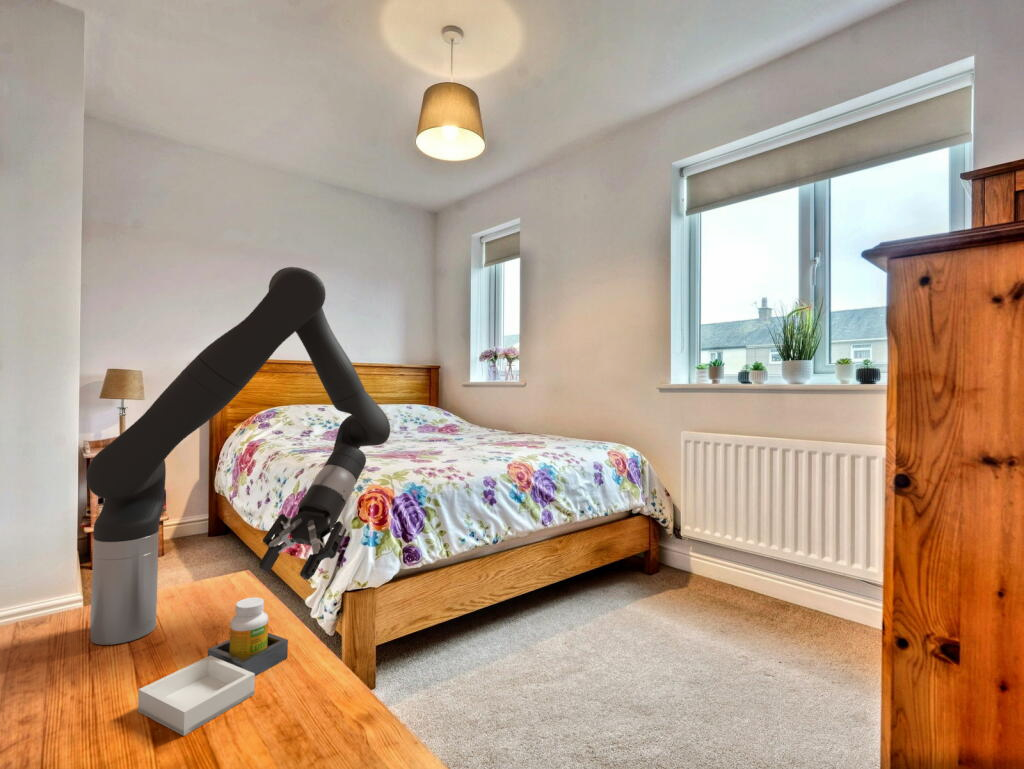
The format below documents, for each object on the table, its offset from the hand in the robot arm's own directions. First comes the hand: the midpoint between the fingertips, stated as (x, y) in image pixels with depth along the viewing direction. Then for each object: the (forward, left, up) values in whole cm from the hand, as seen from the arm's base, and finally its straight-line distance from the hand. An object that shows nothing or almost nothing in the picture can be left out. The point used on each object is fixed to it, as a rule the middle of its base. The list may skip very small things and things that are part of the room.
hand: (283, 574), depth 89 cm
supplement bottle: (+1, -7, -12) cm, 14 cm away
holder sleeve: (+1, -7, -12) cm, 14 cm away
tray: (+4, -17, -12) cm, 21 cm away
